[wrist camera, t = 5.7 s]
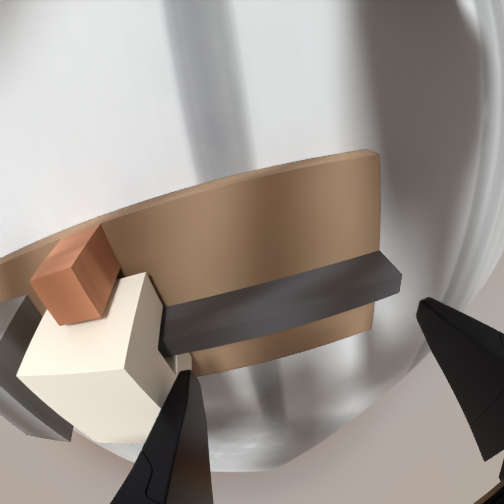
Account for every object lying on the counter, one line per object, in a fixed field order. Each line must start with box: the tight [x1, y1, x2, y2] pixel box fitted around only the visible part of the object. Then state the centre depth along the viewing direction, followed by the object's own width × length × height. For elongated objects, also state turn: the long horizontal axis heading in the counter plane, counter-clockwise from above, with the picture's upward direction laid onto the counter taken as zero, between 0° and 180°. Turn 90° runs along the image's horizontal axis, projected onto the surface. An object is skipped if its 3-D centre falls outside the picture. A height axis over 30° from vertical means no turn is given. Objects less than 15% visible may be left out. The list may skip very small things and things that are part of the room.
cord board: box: [0, 150, 402, 442], centre depth 10 cm, size 22×10×6 cm, turn 102°
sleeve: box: [16, 272, 192, 443], centre depth 10 cm, size 5×5×5 cm
